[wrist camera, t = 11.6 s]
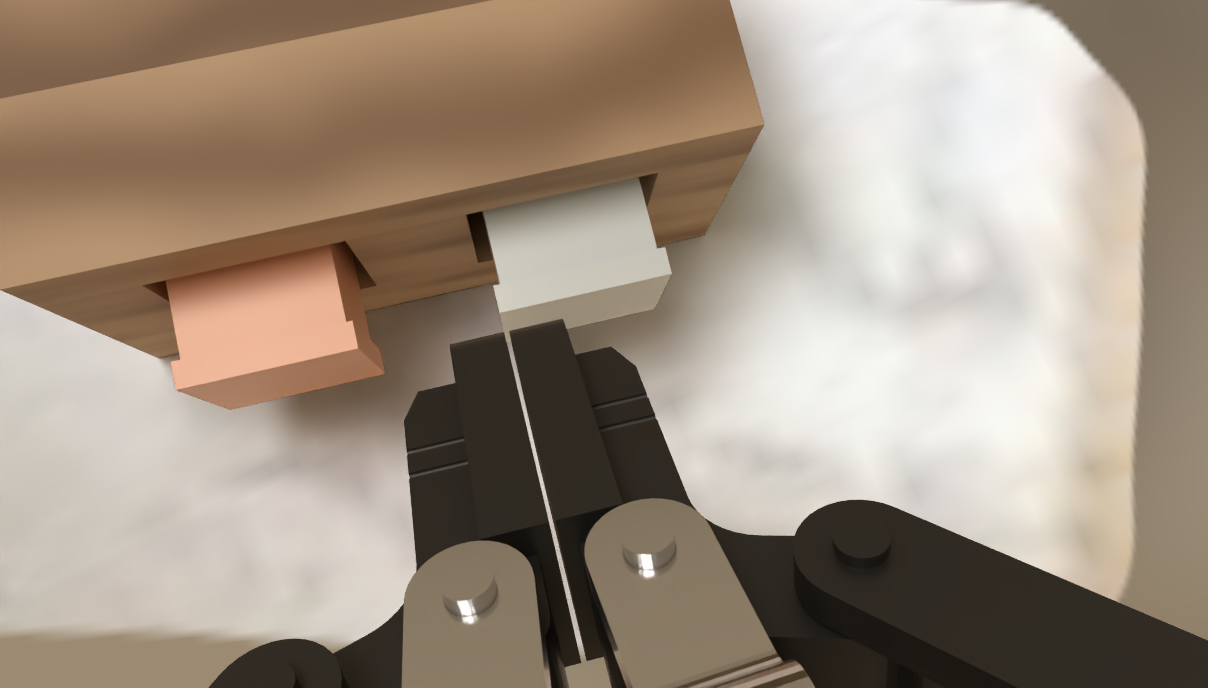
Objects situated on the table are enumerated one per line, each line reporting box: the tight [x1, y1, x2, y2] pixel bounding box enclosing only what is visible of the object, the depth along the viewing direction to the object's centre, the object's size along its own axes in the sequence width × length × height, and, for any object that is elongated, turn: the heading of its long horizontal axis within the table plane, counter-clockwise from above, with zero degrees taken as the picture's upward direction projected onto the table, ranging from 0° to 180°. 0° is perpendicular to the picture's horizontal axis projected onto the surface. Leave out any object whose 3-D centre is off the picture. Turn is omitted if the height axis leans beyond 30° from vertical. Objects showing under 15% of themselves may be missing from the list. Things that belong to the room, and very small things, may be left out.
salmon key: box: [166, 241, 385, 410], centre depth 32 cm, size 7×5×5 cm
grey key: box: [482, 177, 672, 343], centre depth 33 cm, size 7×5×5 cm
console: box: [0, 0, 764, 358], centre depth 34 cm, size 10×20×11 cm, turn 104°
